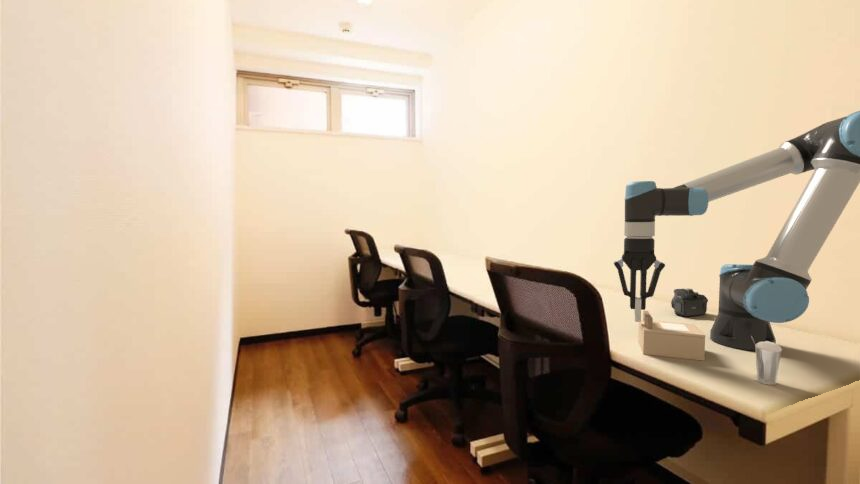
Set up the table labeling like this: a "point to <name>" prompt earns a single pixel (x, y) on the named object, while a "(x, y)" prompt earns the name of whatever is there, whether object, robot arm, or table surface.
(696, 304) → the camera
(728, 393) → the table surface
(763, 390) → the table surface
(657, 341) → the box
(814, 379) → the table surface
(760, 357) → the milkshake
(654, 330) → the lid
